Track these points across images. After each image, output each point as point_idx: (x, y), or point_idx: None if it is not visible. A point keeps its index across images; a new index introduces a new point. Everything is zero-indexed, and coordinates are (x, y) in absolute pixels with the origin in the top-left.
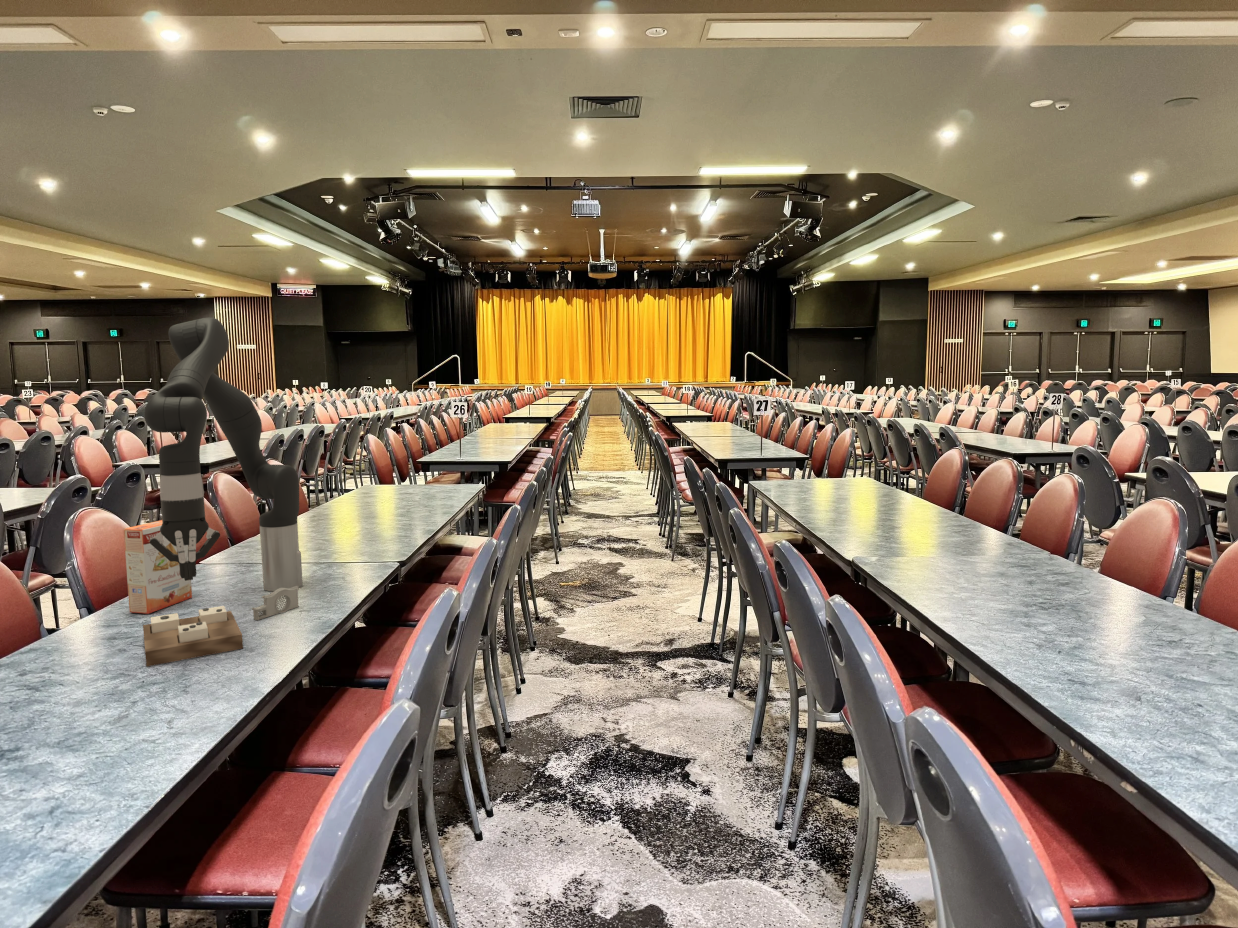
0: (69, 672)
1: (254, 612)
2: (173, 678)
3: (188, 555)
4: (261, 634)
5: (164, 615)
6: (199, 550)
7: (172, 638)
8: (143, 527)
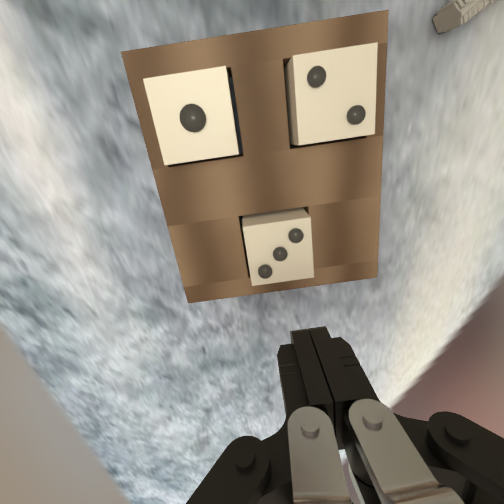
0: (51, 256)
1: (451, 14)
2: (247, 355)
3: (360, 450)
4: (415, 183)
5: (185, 77)
6: (459, 471)
7: (231, 236)
8: None
